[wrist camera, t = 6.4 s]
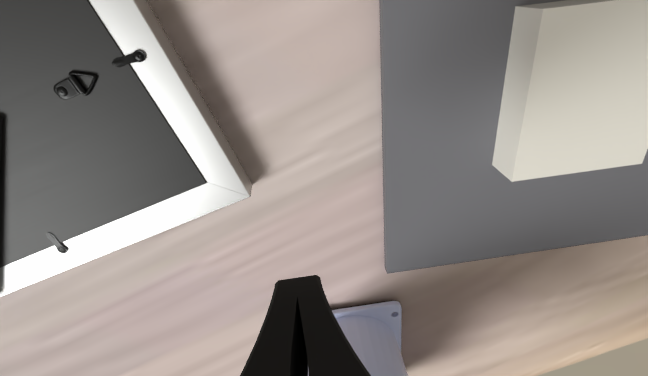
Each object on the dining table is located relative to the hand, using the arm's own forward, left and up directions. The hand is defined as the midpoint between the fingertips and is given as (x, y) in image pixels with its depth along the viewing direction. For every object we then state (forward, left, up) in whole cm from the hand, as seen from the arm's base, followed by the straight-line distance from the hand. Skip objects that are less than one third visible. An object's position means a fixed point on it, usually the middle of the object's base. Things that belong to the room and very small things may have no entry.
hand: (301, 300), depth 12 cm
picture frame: (+4, +14, -10) cm, 18 cm away
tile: (+3, -11, -8) cm, 14 cm away
